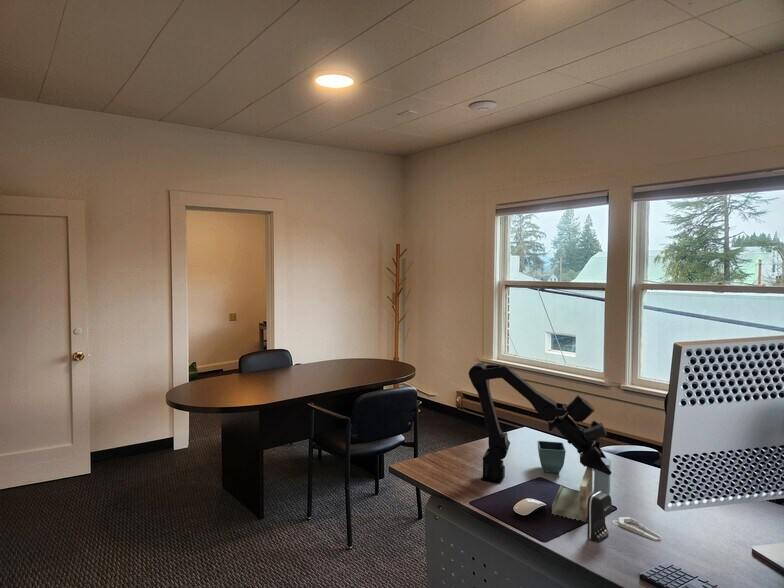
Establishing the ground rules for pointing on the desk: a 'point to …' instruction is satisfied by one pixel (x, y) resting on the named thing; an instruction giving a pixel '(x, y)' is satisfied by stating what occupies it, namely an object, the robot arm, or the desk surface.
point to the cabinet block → (602, 478)
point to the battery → (598, 515)
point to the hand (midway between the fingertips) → (609, 469)
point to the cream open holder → (574, 499)
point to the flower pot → (551, 456)
